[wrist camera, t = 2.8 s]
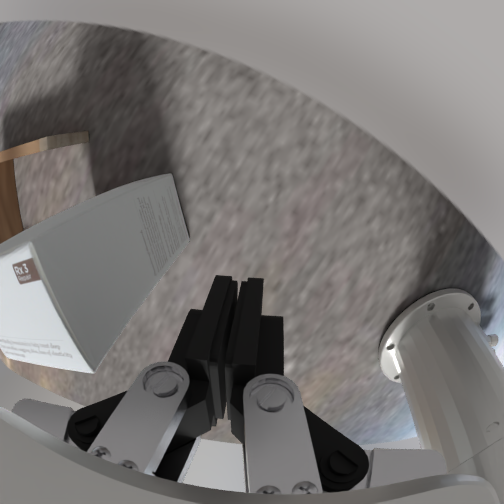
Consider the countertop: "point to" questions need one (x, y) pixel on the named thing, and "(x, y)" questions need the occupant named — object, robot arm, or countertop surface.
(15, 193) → the walnut corral
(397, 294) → the countertop surface
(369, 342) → the countertop surface
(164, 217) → the skincare box
